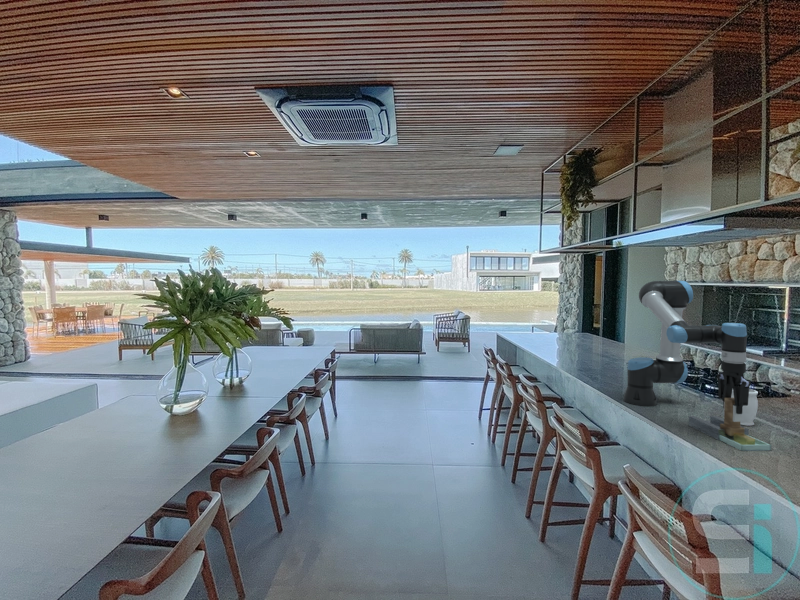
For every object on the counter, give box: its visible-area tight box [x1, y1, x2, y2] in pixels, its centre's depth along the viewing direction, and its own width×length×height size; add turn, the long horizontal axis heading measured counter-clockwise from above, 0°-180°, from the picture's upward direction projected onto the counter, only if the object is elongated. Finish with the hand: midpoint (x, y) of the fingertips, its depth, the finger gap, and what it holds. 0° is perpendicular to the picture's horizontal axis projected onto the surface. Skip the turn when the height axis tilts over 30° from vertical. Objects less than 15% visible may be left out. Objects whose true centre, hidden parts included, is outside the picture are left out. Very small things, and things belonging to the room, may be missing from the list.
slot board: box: [688, 415, 750, 441], centre depth 162 cm, size 16×12×4 cm
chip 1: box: [734, 433, 747, 443], centre depth 150 cm, size 3×3×3 cm
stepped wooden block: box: [720, 398, 746, 436], centre depth 154 cm, size 5×6×14 cm
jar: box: [731, 388, 759, 427], centre depth 172 cm, size 11×10×15 cm
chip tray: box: [718, 434, 772, 452], centre depth 149 cm, size 10×11×2 cm
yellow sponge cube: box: [740, 435, 755, 445], centre depth 147 cm, size 3×3×3 cm
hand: (732, 419), depth 154 cm, fingers closed on stepped wooden block, 3 cm apart
